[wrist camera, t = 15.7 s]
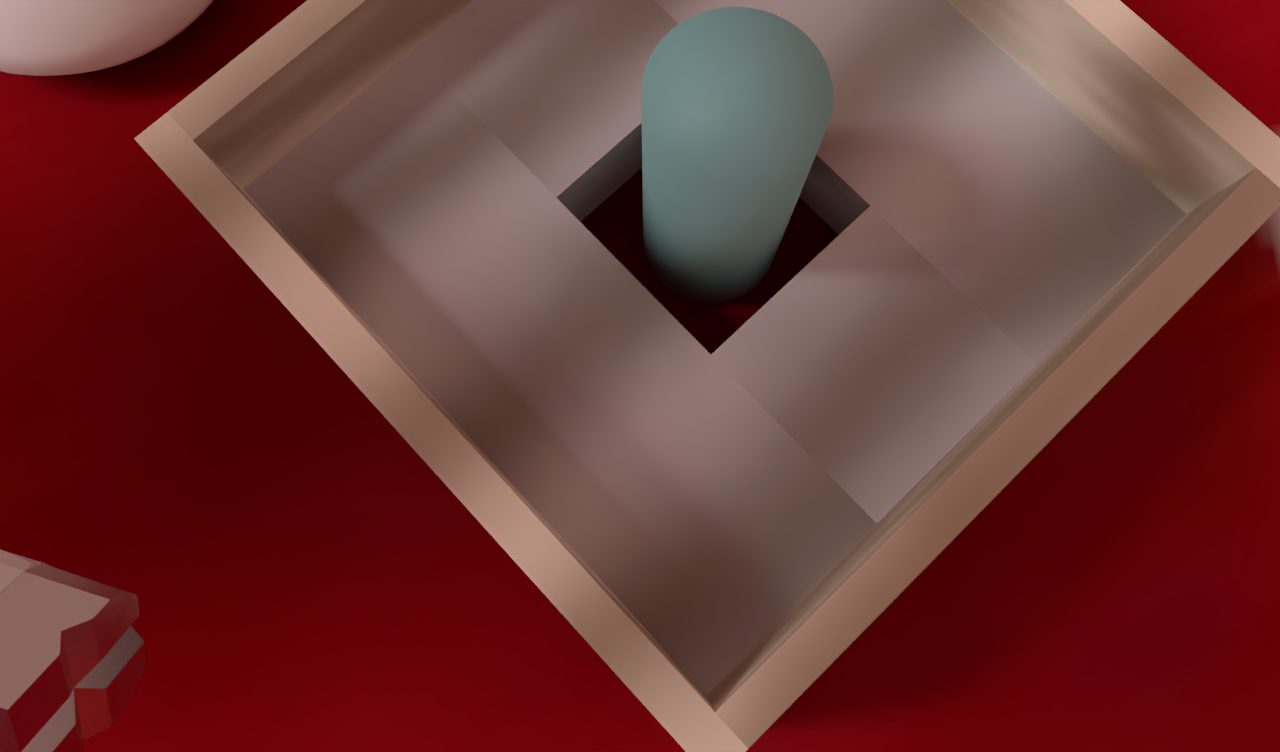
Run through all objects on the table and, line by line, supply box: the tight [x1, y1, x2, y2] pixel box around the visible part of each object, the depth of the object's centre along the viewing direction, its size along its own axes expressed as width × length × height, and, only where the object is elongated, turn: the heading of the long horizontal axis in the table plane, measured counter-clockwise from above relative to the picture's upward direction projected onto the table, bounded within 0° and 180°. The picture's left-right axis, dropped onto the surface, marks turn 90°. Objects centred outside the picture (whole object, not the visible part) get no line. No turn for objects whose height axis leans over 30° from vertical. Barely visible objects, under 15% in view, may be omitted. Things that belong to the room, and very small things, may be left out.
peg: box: [641, 7, 833, 304], centre depth 24 cm, size 4×4×9 cm
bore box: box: [134, 0, 1280, 752], centre depth 26 cm, size 20×20×6 cm
